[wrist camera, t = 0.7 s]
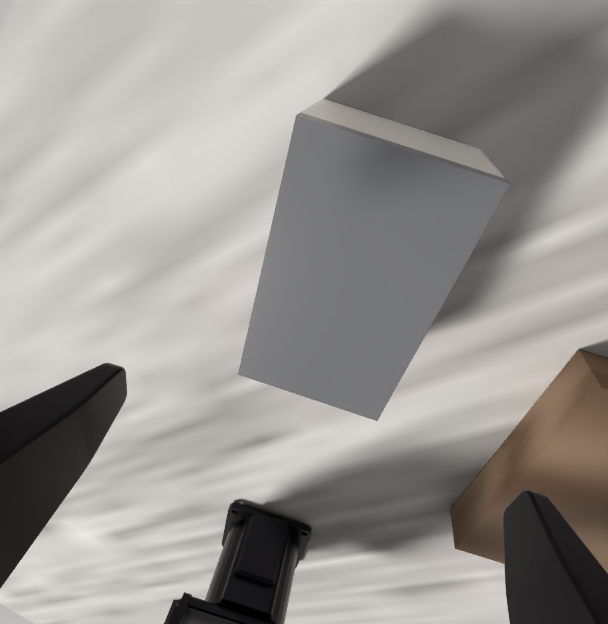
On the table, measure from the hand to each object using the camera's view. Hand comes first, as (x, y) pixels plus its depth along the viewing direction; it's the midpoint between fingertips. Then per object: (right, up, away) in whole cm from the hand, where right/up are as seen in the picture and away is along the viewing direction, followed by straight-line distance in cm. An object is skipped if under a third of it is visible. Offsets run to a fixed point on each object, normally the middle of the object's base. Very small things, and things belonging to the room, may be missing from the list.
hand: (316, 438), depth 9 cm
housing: (+2, +6, +9) cm, 11 cm away
